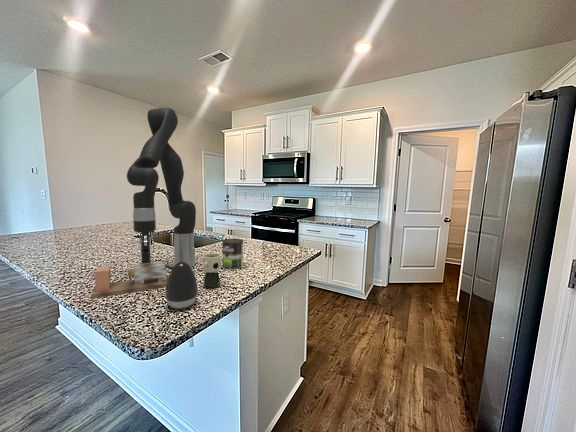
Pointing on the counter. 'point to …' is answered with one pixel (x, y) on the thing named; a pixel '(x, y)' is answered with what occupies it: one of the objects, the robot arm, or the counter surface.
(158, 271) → the sleeve stand
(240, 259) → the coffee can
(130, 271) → the gold and grey t-piece
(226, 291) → the counter surface
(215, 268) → the character mug
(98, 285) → the socket block
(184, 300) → the dark grey egg-shaped piece
